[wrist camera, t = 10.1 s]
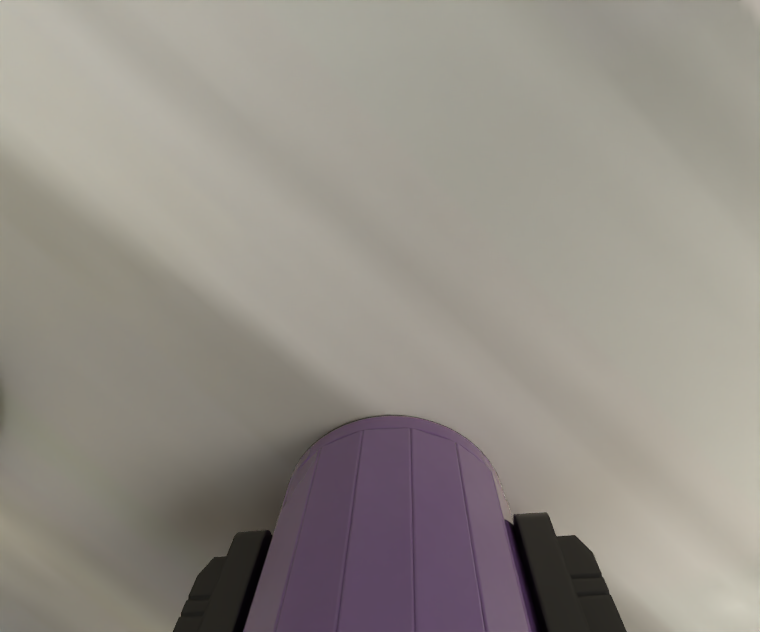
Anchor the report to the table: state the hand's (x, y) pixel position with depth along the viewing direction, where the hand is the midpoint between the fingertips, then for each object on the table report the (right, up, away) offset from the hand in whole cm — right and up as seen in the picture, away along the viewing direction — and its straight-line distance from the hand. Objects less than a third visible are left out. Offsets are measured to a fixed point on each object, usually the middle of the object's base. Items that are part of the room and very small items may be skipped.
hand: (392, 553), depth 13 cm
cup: (0, +1, +1) cm, 1 cm away
